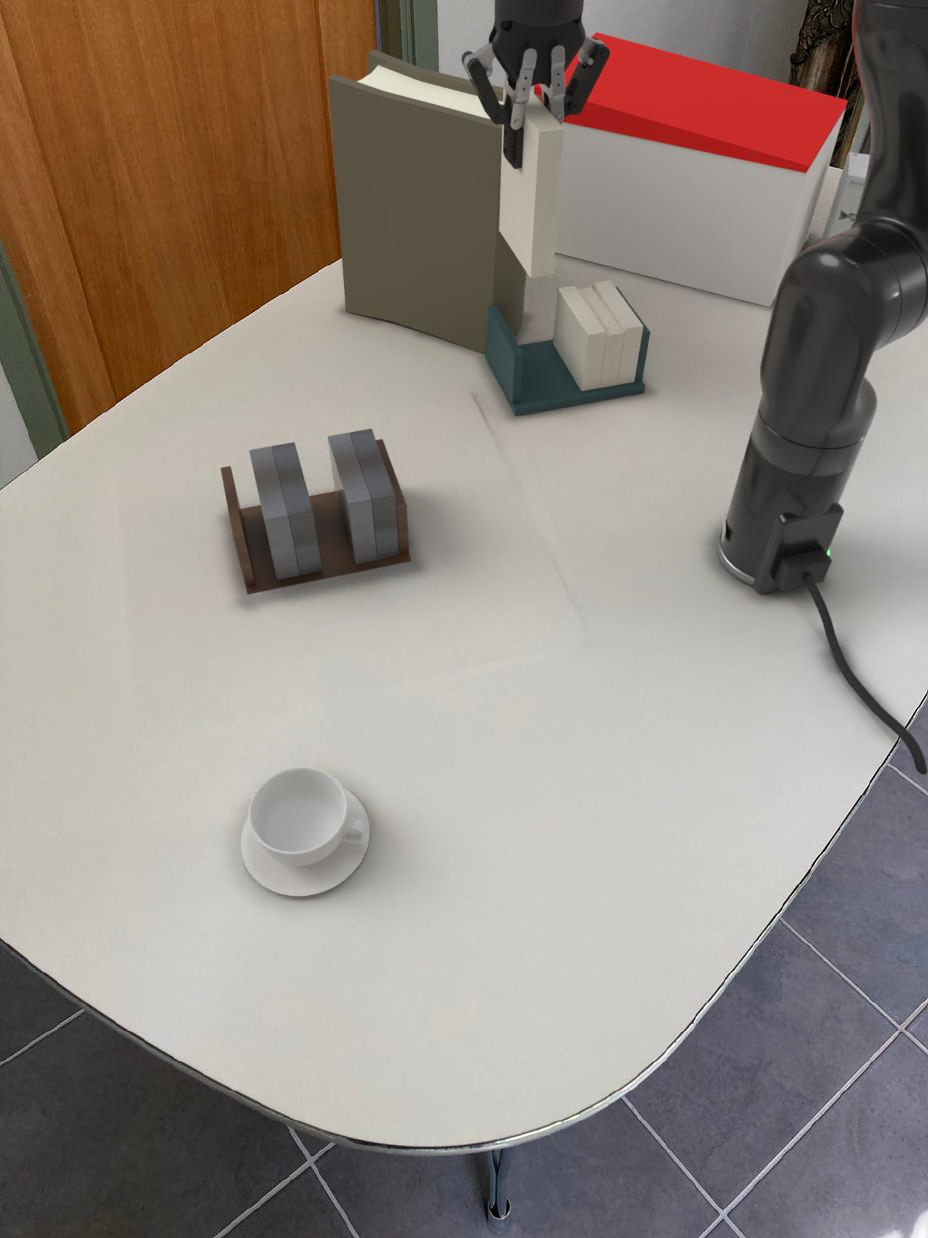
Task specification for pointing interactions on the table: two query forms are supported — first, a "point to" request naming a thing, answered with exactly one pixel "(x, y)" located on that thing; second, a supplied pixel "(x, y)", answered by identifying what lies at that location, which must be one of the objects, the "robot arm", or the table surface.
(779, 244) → the red-lidded white box
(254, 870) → the teacup
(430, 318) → the book
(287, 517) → the brown book rack
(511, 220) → the white book
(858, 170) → the white packaging box
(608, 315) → the teal book rack
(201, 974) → the table surface
